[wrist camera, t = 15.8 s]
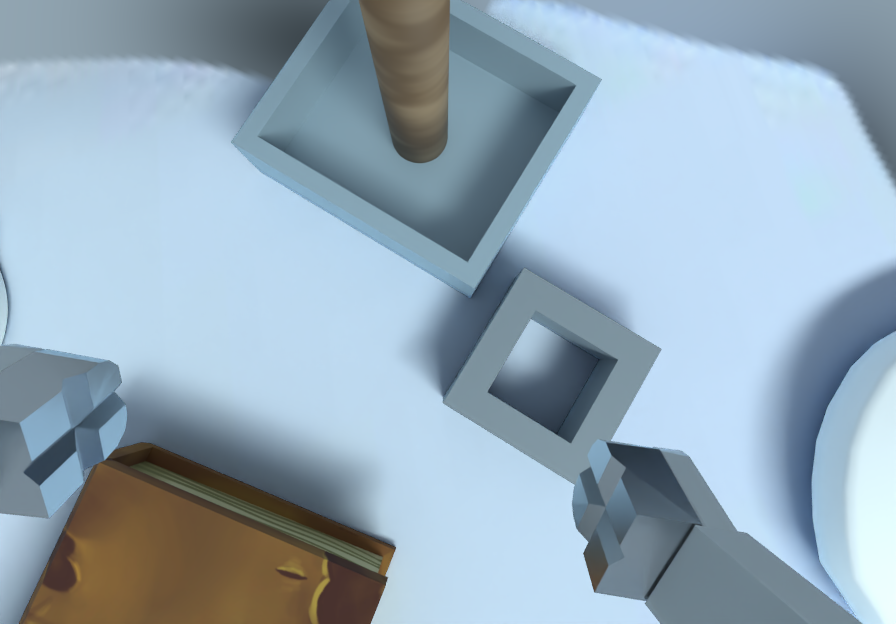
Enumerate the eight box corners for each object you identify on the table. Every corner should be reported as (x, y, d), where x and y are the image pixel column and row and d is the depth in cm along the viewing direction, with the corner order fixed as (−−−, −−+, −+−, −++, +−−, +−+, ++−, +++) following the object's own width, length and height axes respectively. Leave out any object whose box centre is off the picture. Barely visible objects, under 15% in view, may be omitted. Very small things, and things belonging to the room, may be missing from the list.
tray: (260, 171, 33) (231, 142, 28) (376, 0, 34) (366, -54, 30) (470, 298, 32) (474, 288, 27) (580, 116, 33) (601, 79, 29)
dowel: (381, 145, 32) (332, -19, 18) (410, 100, 32) (386, -95, 18) (428, 173, 32) (416, 30, 18) (458, 128, 32) (469, -48, 18)
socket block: (443, 398, 31) (442, 403, 28) (515, 277, 32) (524, 267, 29) (567, 474, 31) (583, 490, 27) (637, 350, 32) (661, 349, 28)
